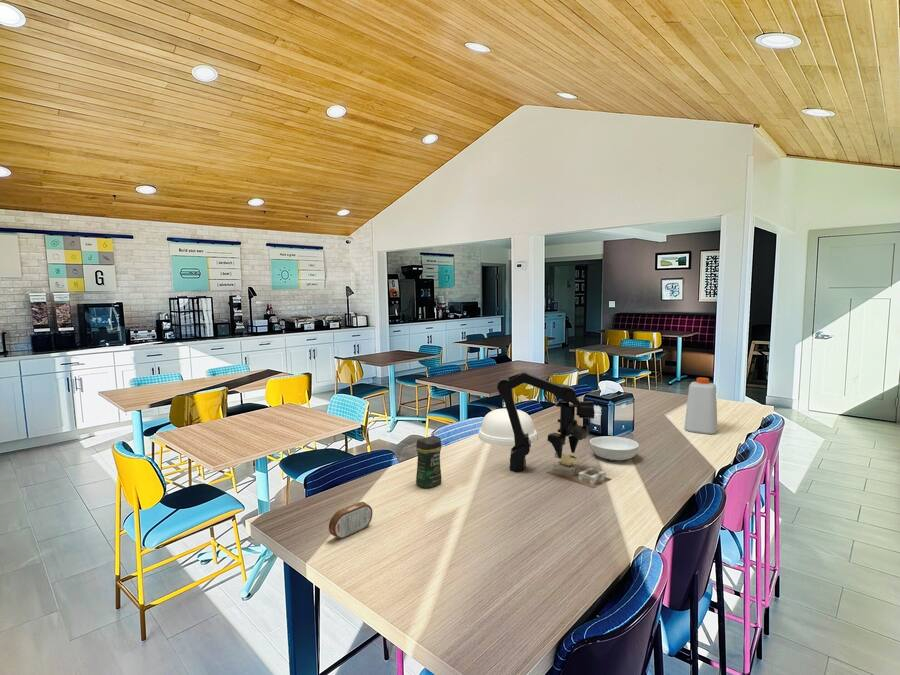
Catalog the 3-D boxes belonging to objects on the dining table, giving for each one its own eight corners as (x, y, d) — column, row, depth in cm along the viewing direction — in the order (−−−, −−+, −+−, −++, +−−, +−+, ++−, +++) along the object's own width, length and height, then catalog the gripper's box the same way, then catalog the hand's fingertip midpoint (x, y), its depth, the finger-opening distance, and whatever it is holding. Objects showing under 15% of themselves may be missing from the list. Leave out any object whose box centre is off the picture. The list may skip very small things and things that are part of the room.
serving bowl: (631, 450, 227) (631, 436, 226) (644, 466, 206) (645, 450, 205) (585, 449, 229) (585, 435, 228) (594, 464, 208) (594, 449, 207)
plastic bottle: (717, 428, 262) (720, 377, 259) (715, 435, 249) (718, 381, 246) (686, 424, 270) (688, 374, 267) (683, 431, 257) (685, 379, 254)
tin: (368, 522, 157) (367, 497, 156) (374, 525, 154) (374, 500, 154) (328, 540, 145) (327, 513, 145) (334, 544, 143) (333, 516, 142)
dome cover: (467, 433, 257) (467, 406, 256) (515, 426, 269) (515, 401, 268) (498, 450, 228) (498, 421, 227) (550, 442, 241) (551, 414, 239)
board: (594, 490, 181) (594, 480, 180) (545, 474, 197) (545, 465, 196) (612, 481, 189) (612, 471, 189) (564, 467, 205) (564, 457, 205)
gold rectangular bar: (575, 476, 193) (576, 458, 192) (554, 469, 200) (554, 452, 199) (578, 474, 194) (578, 457, 193) (557, 468, 201) (557, 451, 201)
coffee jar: (426, 490, 182) (425, 442, 180) (412, 484, 187) (412, 437, 186) (445, 483, 188) (445, 436, 186) (431, 478, 194) (431, 432, 192)
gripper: (571, 425, 183) (570, 466, 184) (597, 417, 195) (596, 455, 197) (546, 420, 191) (546, 458, 192) (573, 412, 203) (572, 448, 205)
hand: (566, 455), depth 196 cm, fingers open, 9 cm apart
